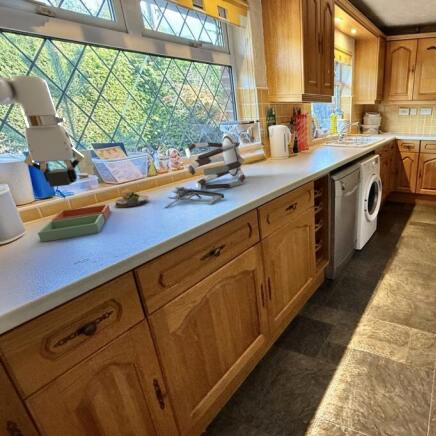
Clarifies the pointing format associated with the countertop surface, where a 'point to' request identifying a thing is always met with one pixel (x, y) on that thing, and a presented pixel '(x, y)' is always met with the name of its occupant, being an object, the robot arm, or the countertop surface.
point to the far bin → (83, 212)
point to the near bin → (71, 227)
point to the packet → (58, 177)
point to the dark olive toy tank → (130, 199)
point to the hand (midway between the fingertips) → (63, 182)
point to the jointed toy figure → (229, 157)
